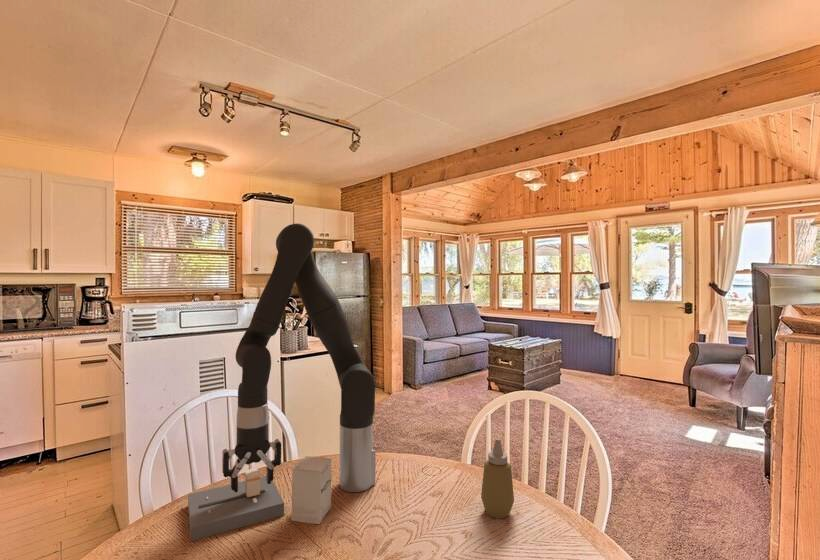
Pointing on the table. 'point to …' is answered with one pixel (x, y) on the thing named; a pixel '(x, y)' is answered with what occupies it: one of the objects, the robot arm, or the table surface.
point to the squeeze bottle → (497, 483)
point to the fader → (252, 482)
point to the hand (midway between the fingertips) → (252, 486)
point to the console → (231, 508)
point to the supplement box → (311, 489)
